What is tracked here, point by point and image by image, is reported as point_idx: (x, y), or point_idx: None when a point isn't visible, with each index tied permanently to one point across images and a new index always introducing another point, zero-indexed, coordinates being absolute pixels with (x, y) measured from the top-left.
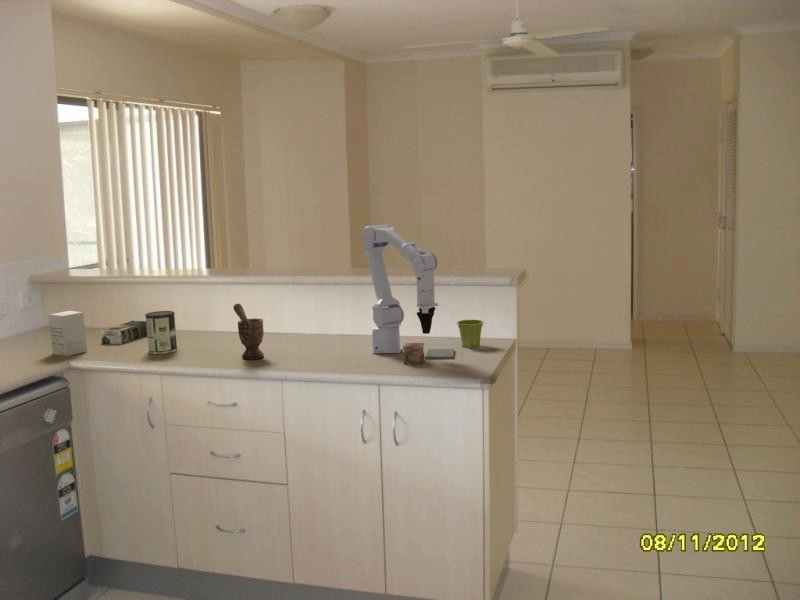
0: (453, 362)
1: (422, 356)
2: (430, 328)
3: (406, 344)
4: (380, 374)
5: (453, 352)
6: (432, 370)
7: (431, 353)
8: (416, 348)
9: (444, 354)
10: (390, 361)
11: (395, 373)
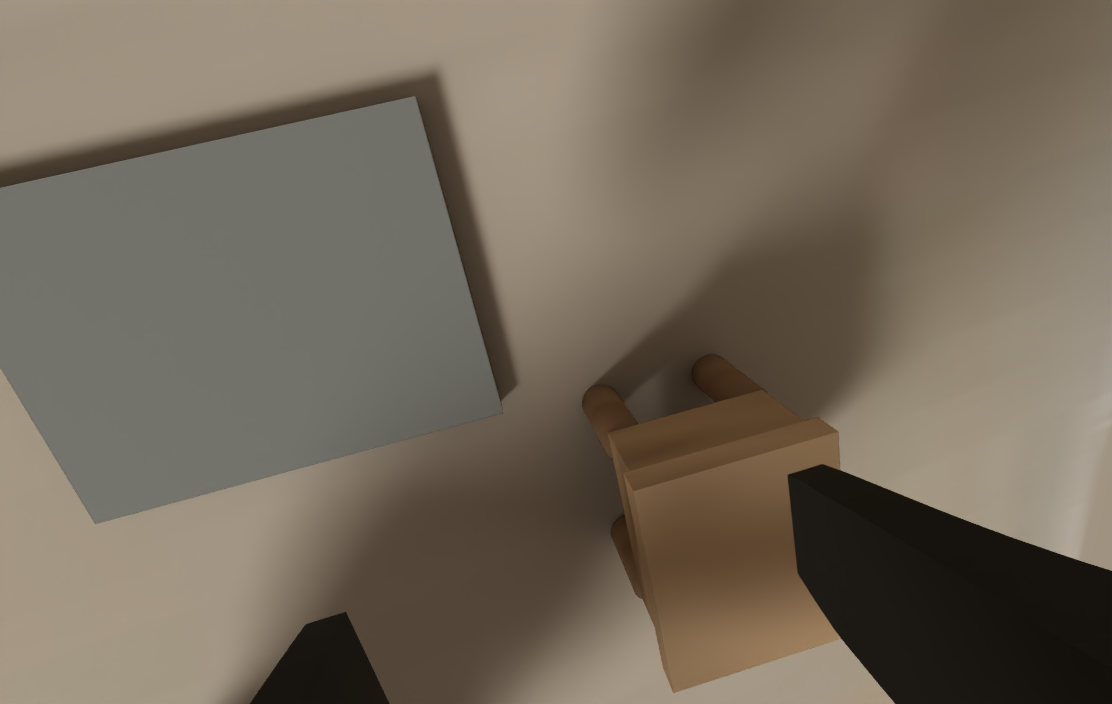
0: (609, 41)
1: (759, 386)
2: (340, 624)
3: (745, 645)
4: (1047, 537)
5: (170, 152)
6: (965, 181)
7: (323, 410)
8: None
9: (334, 241)
10: (640, 644)
11: (1033, 453)
